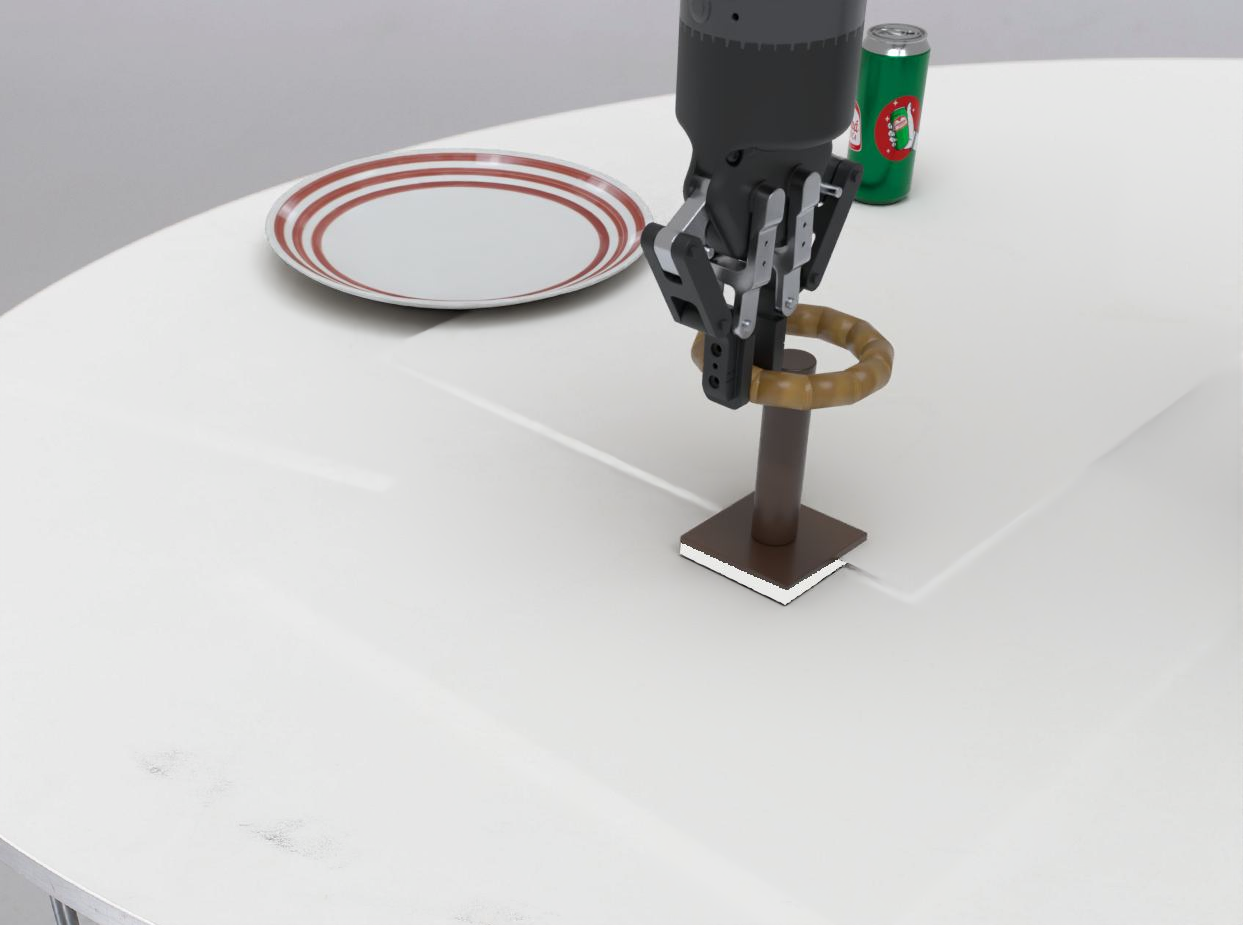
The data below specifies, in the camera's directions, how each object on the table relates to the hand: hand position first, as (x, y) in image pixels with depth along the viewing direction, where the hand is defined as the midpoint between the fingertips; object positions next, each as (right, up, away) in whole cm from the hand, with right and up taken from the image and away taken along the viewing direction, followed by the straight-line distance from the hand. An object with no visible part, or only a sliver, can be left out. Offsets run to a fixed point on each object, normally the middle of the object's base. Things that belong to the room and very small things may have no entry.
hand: (741, 392), depth 77 cm
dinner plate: (-14, +18, +40) cm, 46 cm away
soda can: (+17, +25, +48) cm, 57 cm away
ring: (+3, +2, +2) cm, 4 cm away
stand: (+3, -7, +9) cm, 12 cm away
